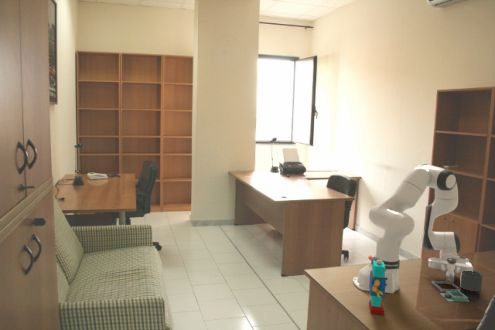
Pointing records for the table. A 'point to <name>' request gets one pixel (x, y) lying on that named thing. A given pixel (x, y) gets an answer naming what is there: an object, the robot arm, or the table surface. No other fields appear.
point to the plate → (455, 296)
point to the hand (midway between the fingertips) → (450, 270)
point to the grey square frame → (444, 283)
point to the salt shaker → (450, 270)
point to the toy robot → (377, 287)
